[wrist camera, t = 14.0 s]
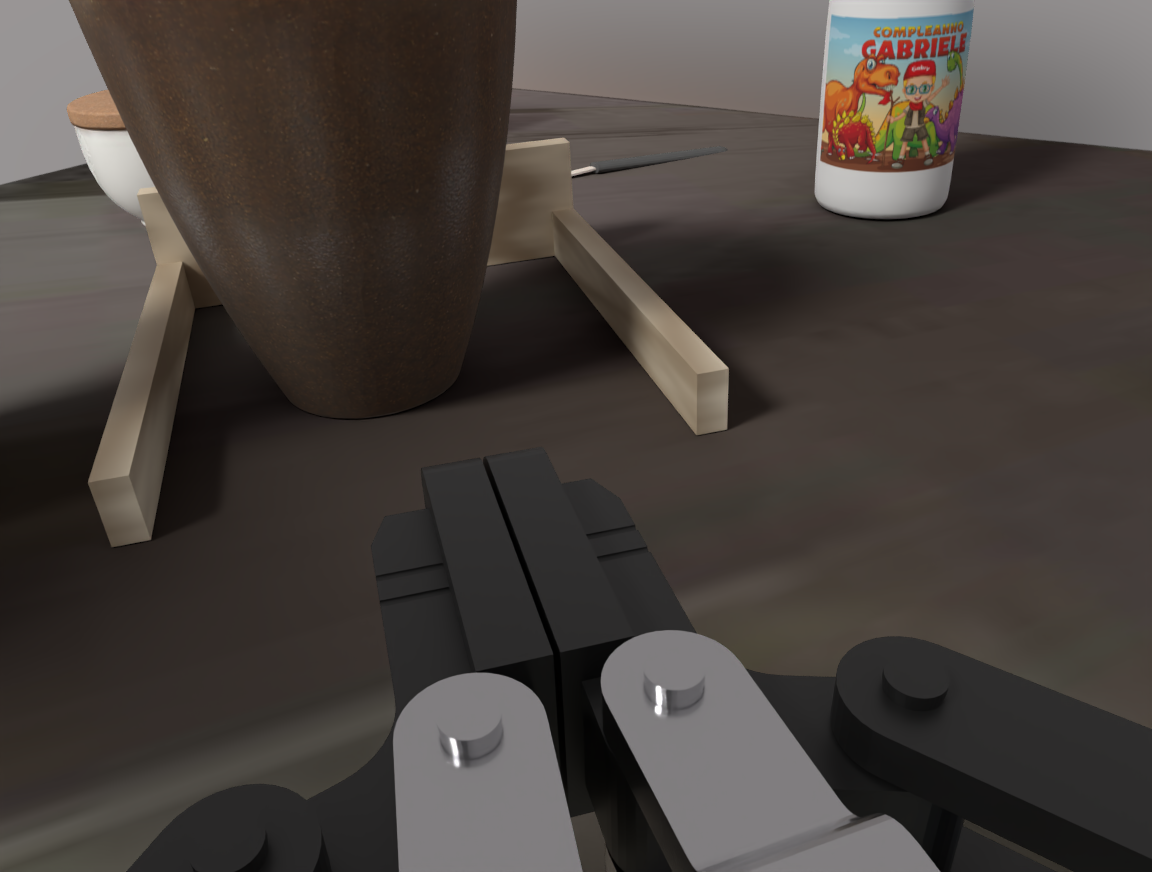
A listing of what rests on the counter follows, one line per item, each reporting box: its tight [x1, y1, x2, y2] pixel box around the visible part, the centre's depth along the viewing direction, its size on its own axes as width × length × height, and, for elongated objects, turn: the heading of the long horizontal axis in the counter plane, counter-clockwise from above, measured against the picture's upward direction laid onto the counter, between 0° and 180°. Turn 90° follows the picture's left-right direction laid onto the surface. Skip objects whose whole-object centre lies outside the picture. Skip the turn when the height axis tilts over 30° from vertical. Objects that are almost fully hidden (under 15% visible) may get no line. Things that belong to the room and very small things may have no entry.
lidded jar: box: [67, 90, 155, 226], centre depth 61 cm, size 11×11×9 cm
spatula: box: [571, 146, 727, 176], centre depth 66 cm, size 6×29×2 cm, turn 116°
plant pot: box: [69, 0, 517, 419], centre depth 37 cm, size 15×15×16 cm
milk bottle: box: [815, 0, 974, 219], centre depth 53 cm, size 8×8×20 cm
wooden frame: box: [88, 138, 729, 547], centre depth 41 cm, size 21×22×6 cm
